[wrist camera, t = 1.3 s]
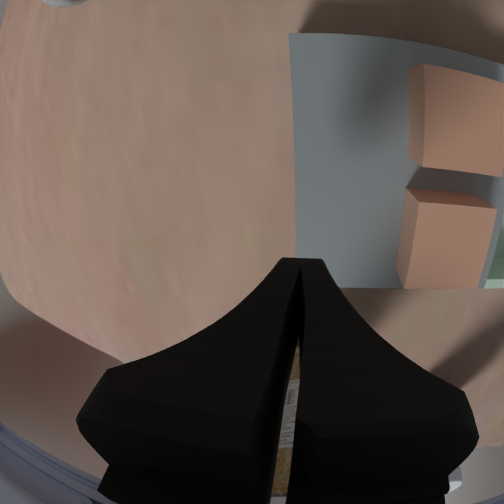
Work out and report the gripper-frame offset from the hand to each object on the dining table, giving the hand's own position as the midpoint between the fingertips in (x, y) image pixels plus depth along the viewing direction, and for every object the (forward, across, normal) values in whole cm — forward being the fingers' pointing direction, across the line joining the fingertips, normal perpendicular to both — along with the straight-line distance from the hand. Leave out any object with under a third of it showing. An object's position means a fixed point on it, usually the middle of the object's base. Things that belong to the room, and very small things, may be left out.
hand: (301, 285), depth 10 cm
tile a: (+5, -7, 0) cm, 8 cm away
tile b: (+5, -7, -5) cm, 10 cm away
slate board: (+8, -5, -3) cm, 10 cm away
